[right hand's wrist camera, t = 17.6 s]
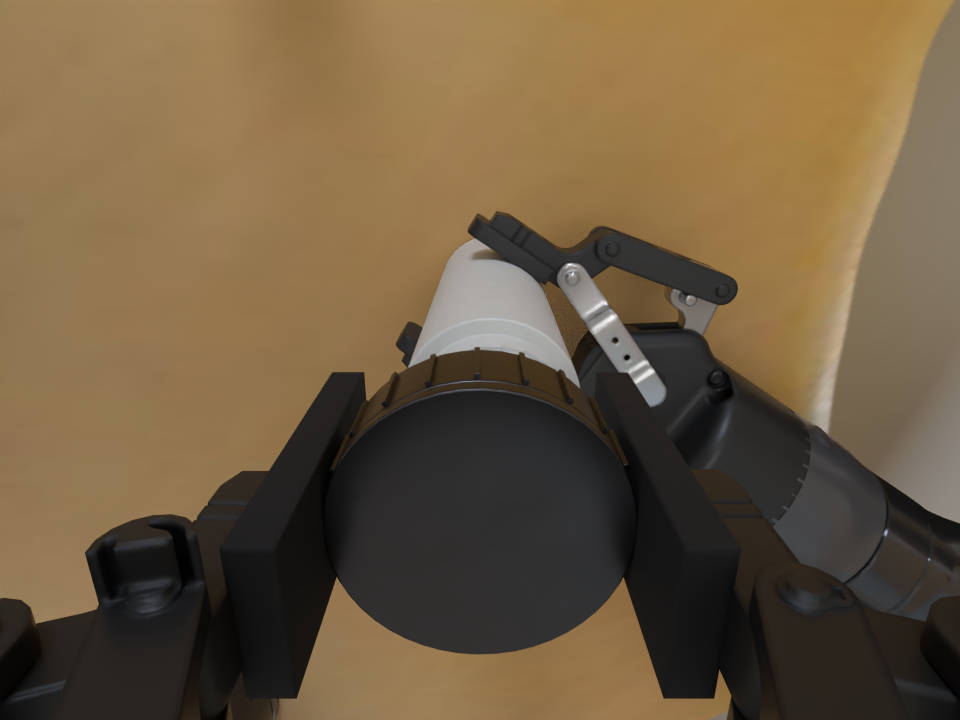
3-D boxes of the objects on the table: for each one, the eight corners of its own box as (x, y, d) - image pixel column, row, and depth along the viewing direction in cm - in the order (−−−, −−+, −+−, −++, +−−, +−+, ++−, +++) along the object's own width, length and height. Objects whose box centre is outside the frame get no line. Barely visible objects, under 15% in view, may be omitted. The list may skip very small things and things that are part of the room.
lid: (375, 310, 11) (354, 343, 9) (660, 388, 12) (695, 434, 10) (318, 553, 13) (292, 621, 11) (566, 610, 13) (579, 683, 12)
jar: (556, 282, 31) (633, 431, 14) (490, 347, 32) (493, 552, 16) (488, 215, 30) (488, 294, 13) (422, 285, 31) (350, 435, 15)
